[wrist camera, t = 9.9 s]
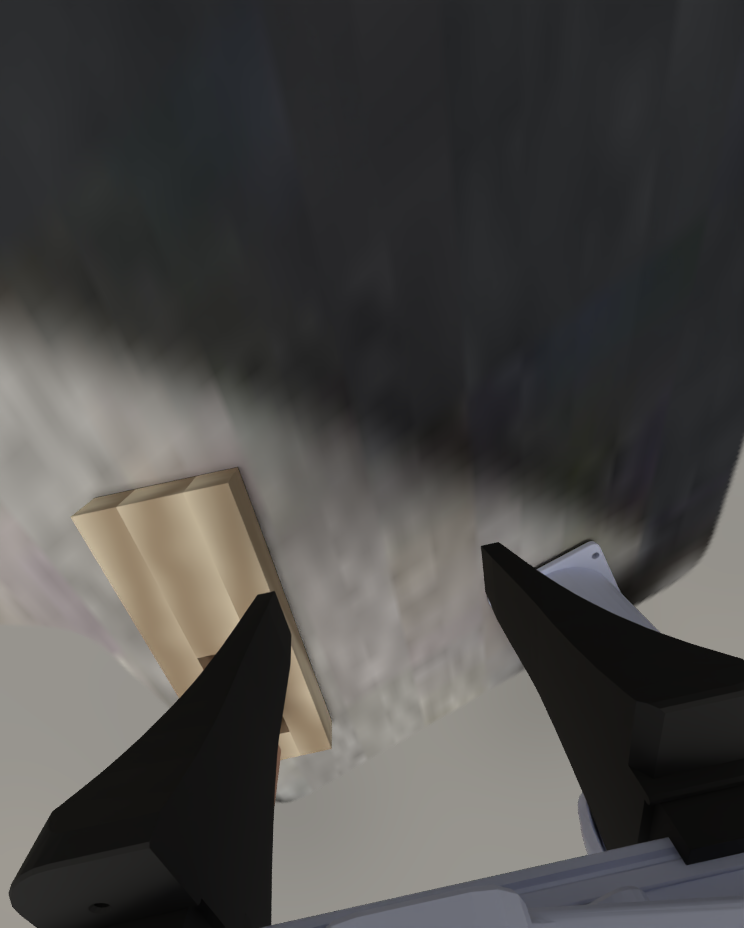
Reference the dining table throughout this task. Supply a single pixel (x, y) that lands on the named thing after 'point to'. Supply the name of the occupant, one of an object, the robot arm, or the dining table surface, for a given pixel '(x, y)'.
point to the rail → (199, 584)
